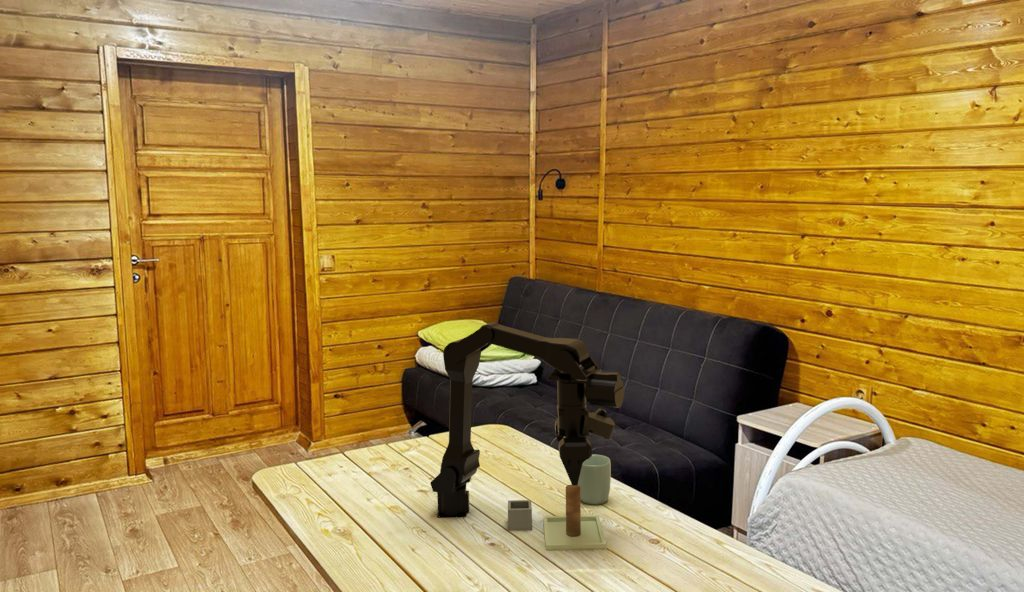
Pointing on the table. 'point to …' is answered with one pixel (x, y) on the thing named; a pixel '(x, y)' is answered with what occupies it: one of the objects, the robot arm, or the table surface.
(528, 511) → the pen cup
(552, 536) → the tray
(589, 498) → the cup
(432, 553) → the table surface
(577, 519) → the dowel
